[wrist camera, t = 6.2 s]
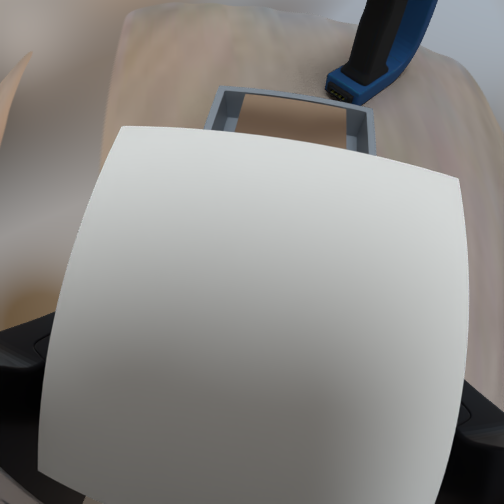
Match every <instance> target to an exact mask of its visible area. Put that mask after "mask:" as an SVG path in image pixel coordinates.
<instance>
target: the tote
mask: <svg viewBox="0 0 504 504" xmlns="http://www.w3.org/2000/svg"><path fill="white" fill-rule="evenodd" d="M245 94H252V95H261V96H270V97H278V98H285V99H292V100H299V101H305V102H311V103H317V104H322V105H328V106H333V107H338V108H343V109H346V150H351V151H356V152H360V153H365V154H369V155H374V156H376V141H375V128H374V117H373V109H371V108H367V107H363V106H358V105H354V104H349V103H345V102H340V101H335V100H330V99H324V98H319V97H313V96H307V95H301V94H294V93H288V92H280V91H272V90H264V89H255V88H244V87H232V86H219V88H218V91H217V93H216V96H215V99H214V101H213V104H212V107H211V109H210V112H209V115H208V118H207V120H206V123H205V126H204V129H203V130H215V131H226V132H235V128H236V125H237V121H238V118H239V114H240V111H241V107H242V104H243V100H244V97H245Z"/></svg>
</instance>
